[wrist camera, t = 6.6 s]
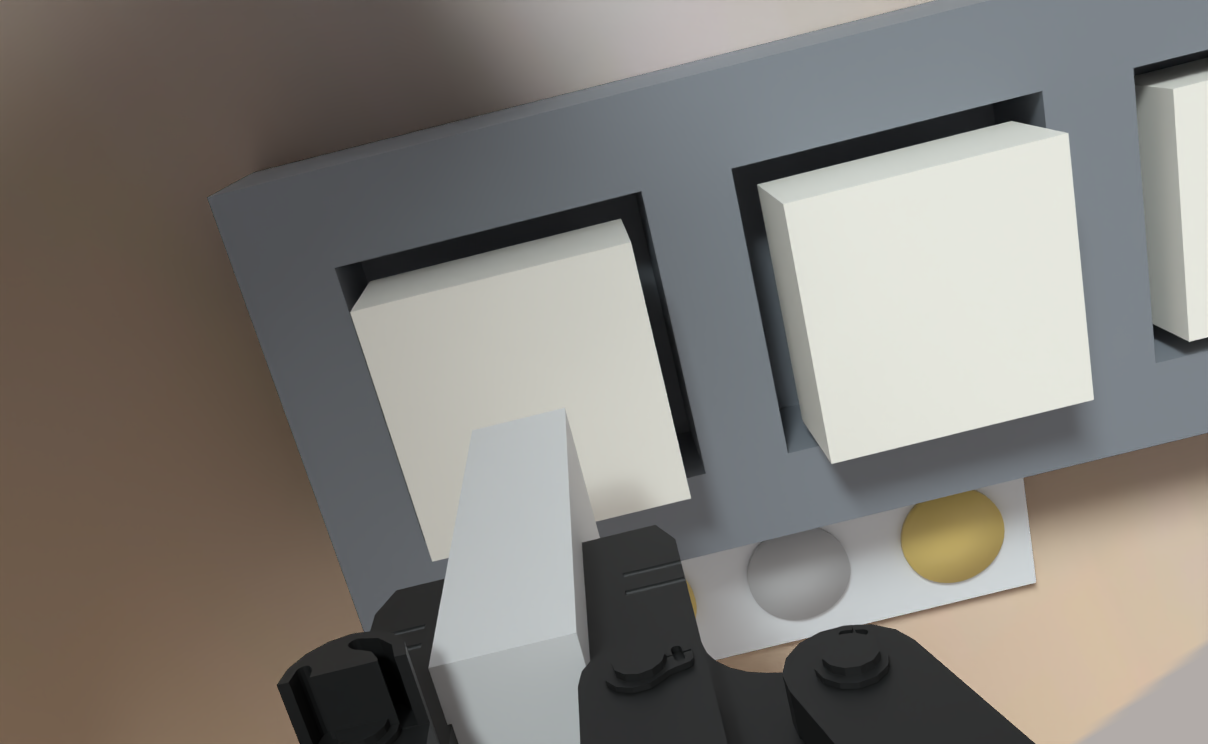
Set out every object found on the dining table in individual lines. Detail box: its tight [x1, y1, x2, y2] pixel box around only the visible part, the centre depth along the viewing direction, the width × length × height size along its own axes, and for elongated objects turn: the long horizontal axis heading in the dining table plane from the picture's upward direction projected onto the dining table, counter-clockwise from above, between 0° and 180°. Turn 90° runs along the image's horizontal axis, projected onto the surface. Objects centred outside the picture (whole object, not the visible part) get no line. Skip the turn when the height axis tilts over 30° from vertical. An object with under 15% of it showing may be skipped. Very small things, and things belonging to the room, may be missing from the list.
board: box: [207, 0, 1208, 632], centre depth 23 cm, size 26×10×4 cm, turn 104°
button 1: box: [350, 219, 691, 562], centre depth 21 cm, size 5×5×2 cm
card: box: [681, 478, 1036, 660], centre depth 27 cm, size 12×4×1 cm, turn 103°
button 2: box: [757, 121, 1094, 464], centre depth 21 cm, size 5×5×2 cm
